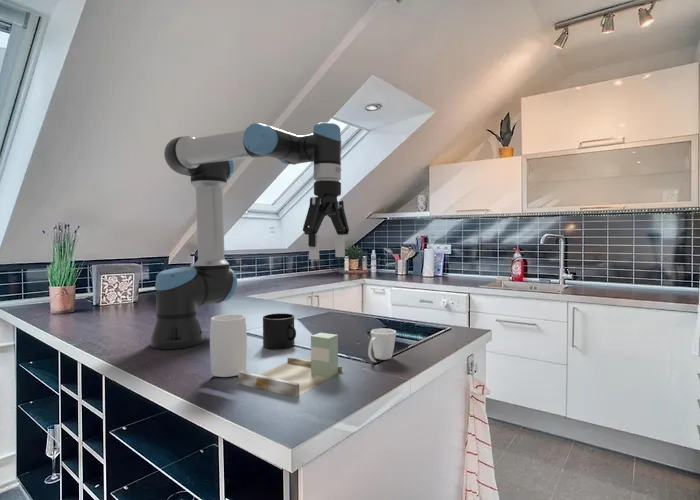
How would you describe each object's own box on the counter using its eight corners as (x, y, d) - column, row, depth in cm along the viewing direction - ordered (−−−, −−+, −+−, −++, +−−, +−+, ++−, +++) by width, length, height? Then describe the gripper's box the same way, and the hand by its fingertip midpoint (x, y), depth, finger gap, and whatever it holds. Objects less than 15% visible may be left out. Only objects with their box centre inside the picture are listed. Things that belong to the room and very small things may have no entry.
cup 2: (401, 360, 109) (401, 330, 109) (380, 370, 101) (380, 337, 101) (379, 355, 113) (379, 327, 113) (358, 364, 105) (358, 333, 105)
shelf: (237, 387, 90) (237, 372, 90) (289, 364, 106) (288, 351, 105) (295, 401, 82) (295, 385, 82) (342, 374, 98) (341, 361, 98)
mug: (284, 353, 116) (283, 321, 116) (256, 346, 123) (256, 316, 123) (306, 346, 123) (306, 316, 123) (279, 340, 131) (279, 312, 130)
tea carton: (310, 373, 96) (310, 336, 96) (320, 368, 100) (320, 332, 99) (328, 377, 93) (328, 338, 93) (338, 372, 97) (337, 334, 97)
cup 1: (241, 368, 103) (240, 312, 102) (252, 378, 96) (251, 318, 95) (206, 374, 98) (205, 316, 98) (215, 385, 91) (214, 322, 91)
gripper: (313, 174, 99) (313, 261, 100) (360, 185, 121) (360, 256, 122) (288, 176, 103) (289, 260, 104) (338, 186, 125) (338, 255, 126)
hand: (327, 258), depth 113 cm, fingers open, 13 cm apart
